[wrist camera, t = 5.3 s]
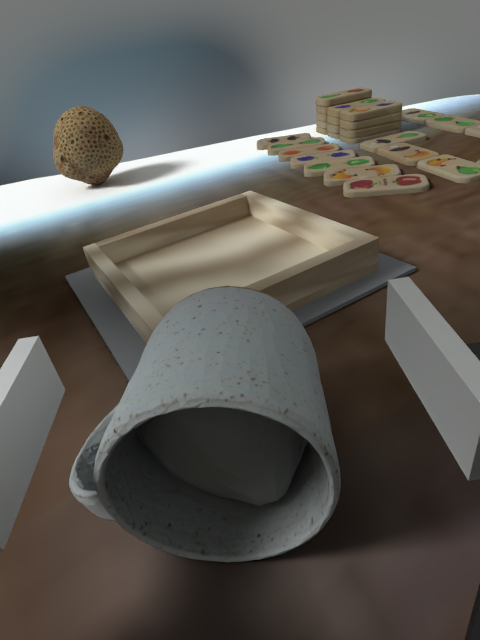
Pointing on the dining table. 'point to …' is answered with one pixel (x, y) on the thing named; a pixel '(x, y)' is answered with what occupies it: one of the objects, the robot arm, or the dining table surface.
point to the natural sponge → (86, 145)
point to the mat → (131, 344)
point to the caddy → (230, 257)
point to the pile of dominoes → (373, 146)
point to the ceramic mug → (217, 435)
